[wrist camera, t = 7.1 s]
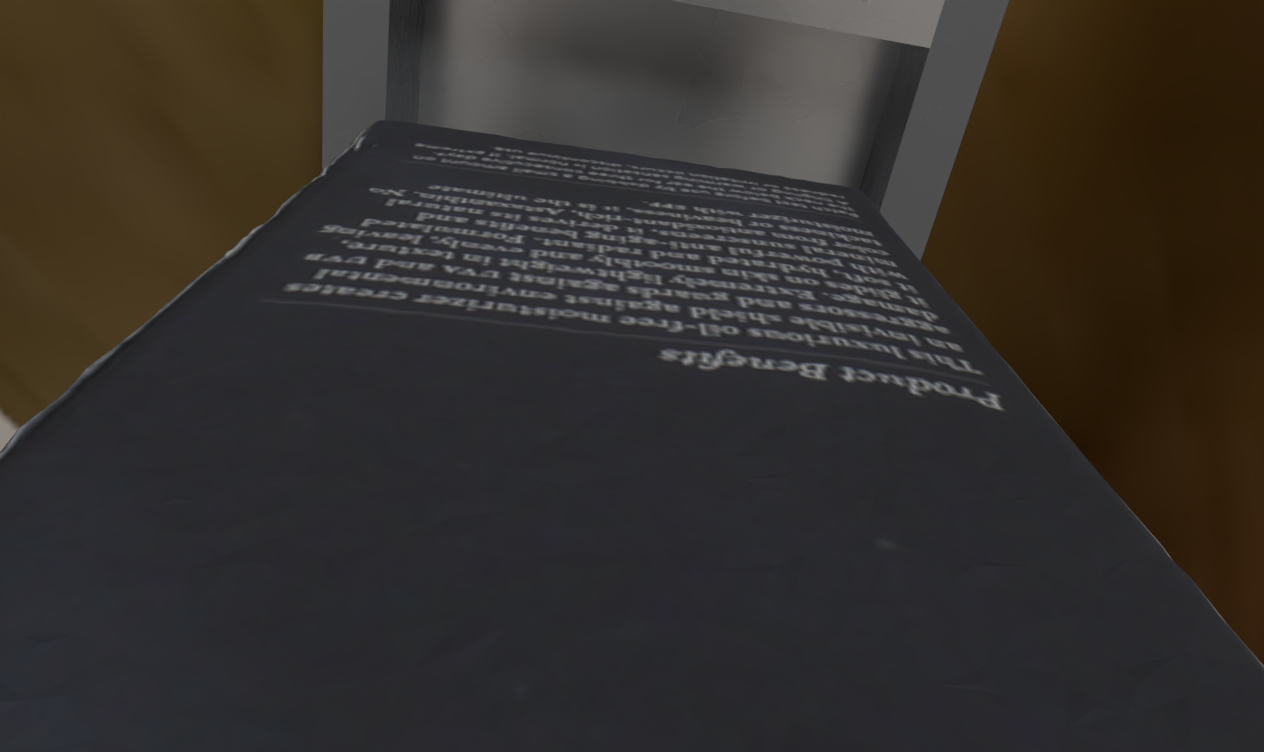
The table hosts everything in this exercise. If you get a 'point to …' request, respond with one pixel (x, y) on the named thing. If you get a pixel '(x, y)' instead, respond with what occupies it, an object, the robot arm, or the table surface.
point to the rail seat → (682, 82)
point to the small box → (582, 492)
